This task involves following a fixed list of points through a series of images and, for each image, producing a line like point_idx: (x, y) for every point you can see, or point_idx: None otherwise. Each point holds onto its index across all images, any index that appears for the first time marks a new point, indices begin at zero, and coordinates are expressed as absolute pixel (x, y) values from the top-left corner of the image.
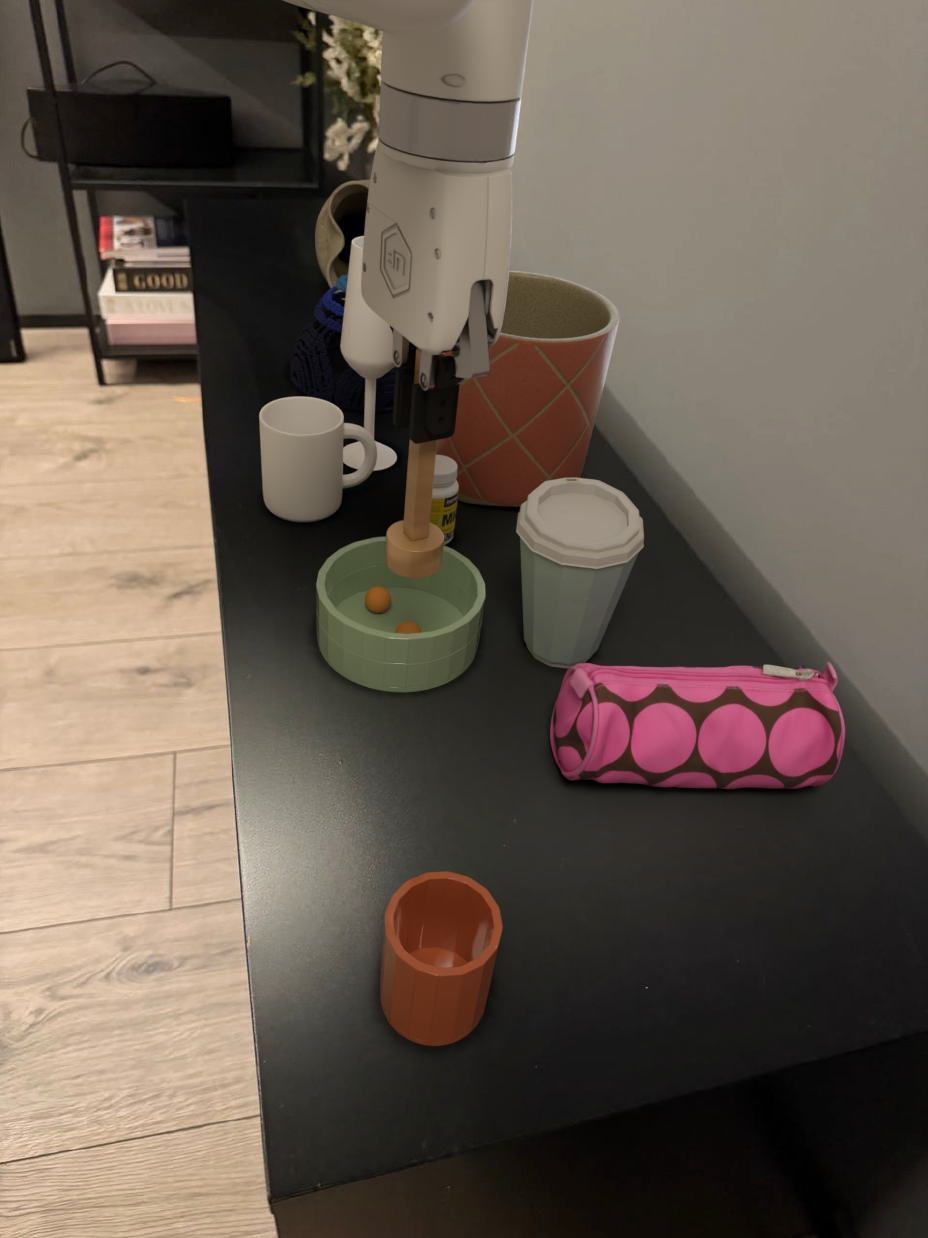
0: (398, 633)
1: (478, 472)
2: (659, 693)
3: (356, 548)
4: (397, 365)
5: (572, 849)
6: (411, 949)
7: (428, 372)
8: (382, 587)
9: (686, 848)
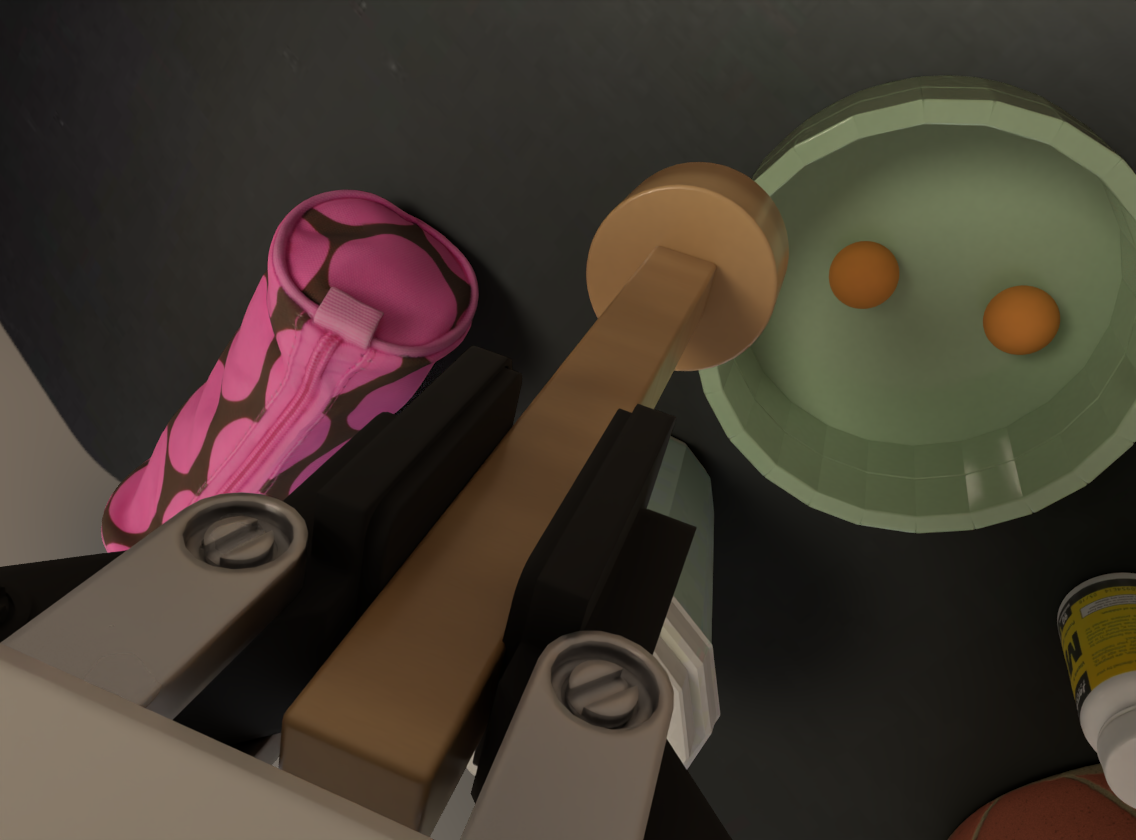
0: (780, 183)
1: (1119, 835)
2: (260, 398)
3: None
4: (602, 639)
5: (299, 96)
6: None
7: (132, 561)
8: (1024, 347)
9: (217, 239)
